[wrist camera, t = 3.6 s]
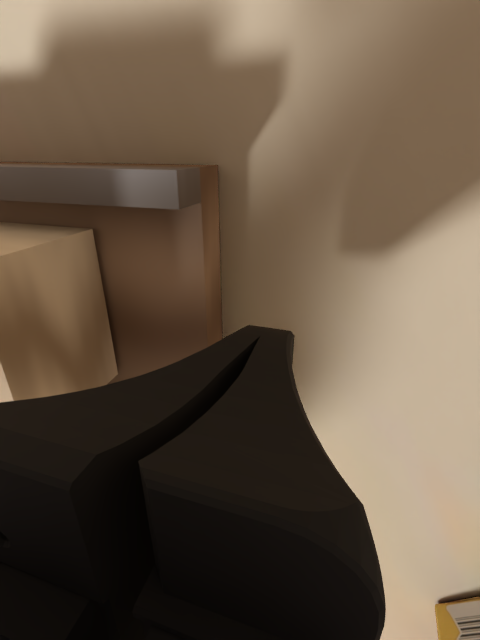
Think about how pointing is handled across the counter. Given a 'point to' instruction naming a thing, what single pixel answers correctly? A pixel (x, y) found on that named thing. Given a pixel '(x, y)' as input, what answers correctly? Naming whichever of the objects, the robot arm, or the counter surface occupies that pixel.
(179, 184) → the guide track
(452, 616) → the candy box
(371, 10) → the counter surface
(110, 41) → the counter surface
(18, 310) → the beige box
